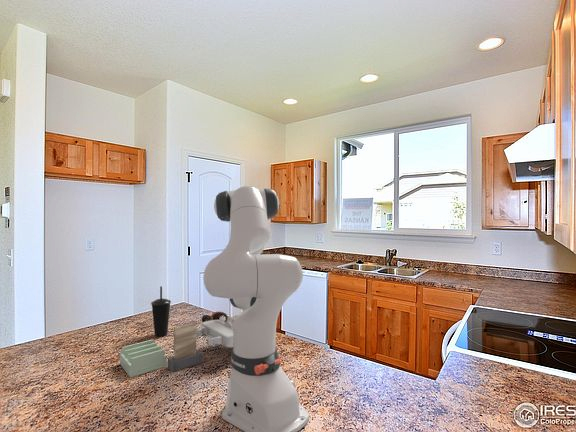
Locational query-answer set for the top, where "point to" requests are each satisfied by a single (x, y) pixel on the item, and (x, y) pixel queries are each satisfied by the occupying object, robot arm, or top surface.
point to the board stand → (184, 361)
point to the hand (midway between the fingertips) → (201, 337)
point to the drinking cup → (161, 315)
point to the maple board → (184, 340)
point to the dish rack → (142, 358)
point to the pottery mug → (214, 316)
